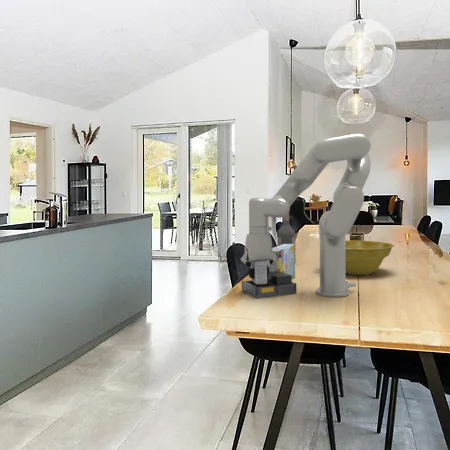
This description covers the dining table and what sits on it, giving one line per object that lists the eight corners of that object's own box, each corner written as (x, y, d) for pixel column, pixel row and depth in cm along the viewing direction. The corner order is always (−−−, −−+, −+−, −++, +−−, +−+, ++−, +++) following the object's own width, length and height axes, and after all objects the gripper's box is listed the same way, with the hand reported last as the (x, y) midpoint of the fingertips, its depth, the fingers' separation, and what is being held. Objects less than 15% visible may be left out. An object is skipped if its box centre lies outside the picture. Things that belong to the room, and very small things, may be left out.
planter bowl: (321, 265, 237) (321, 239, 236) (388, 267, 230) (389, 240, 229) (321, 278, 206) (321, 248, 204) (399, 280, 199) (399, 249, 198)
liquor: (294, 262, 249) (294, 205, 246) (295, 265, 240) (295, 206, 237) (277, 262, 250) (277, 205, 247) (277, 265, 241) (277, 206, 238)
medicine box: (267, 284, 176) (267, 261, 175) (255, 284, 176) (255, 261, 175) (262, 280, 184) (262, 258, 183) (250, 280, 183) (250, 258, 182)
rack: (279, 286, 191) (279, 269, 190) (296, 293, 179) (296, 275, 178) (241, 291, 184) (241, 273, 184) (256, 298, 172) (256, 280, 172)
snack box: (283, 276, 212) (283, 243, 211) (295, 277, 209) (295, 244, 208) (265, 286, 193) (265, 249, 192) (278, 287, 191) (278, 250, 189)
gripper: (274, 228, 185) (274, 274, 186) (234, 230, 178) (234, 277, 180) (283, 230, 178) (283, 277, 179) (242, 232, 171) (242, 281, 173)
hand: (258, 277), depth 180 cm, fingers closed on medicine box, 5 cm apart
